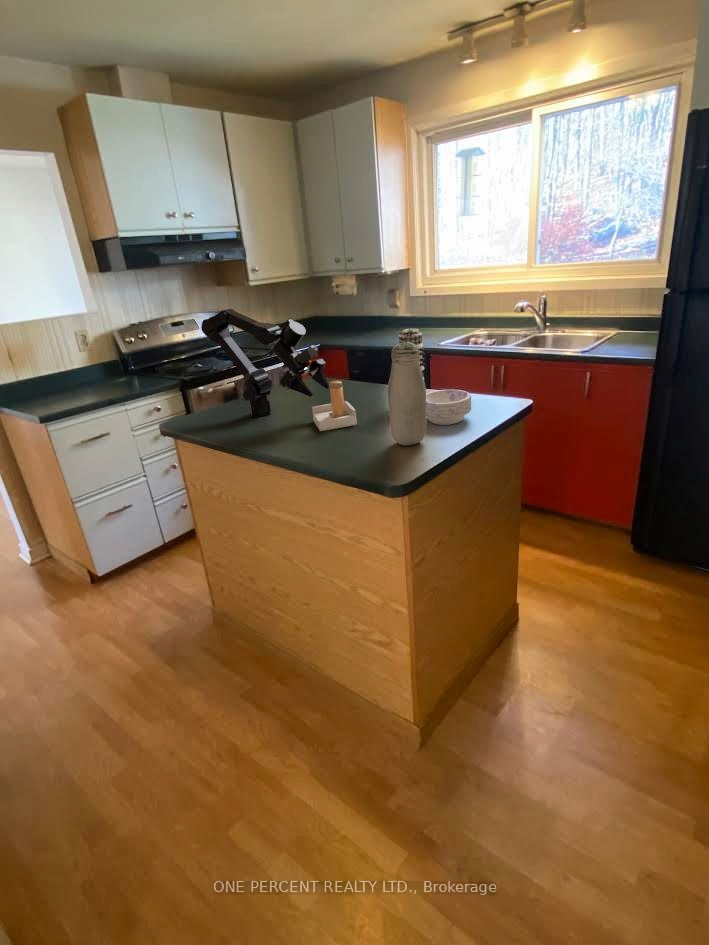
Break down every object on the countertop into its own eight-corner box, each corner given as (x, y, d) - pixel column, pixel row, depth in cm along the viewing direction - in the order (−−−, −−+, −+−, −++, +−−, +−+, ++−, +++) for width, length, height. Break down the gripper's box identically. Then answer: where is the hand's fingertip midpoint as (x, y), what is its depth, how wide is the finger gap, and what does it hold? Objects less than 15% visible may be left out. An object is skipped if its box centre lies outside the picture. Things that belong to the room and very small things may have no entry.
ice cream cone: (339, 425, 165) (334, 384, 159) (331, 423, 168) (326, 383, 162) (348, 422, 167) (344, 381, 162) (340, 420, 170) (336, 380, 164)
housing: (320, 431, 162) (318, 415, 160) (313, 421, 172) (311, 406, 170) (357, 424, 164) (355, 409, 162) (348, 415, 174) (347, 400, 172)
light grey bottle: (402, 453, 139) (396, 348, 128) (385, 442, 148) (378, 343, 136) (434, 444, 142) (430, 342, 131) (415, 434, 151) (410, 337, 140)
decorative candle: (410, 408, 174) (406, 333, 164) (395, 402, 182) (390, 330, 172) (432, 402, 178) (429, 328, 168) (416, 397, 186) (413, 326, 176)
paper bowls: (411, 423, 160) (410, 398, 157) (440, 410, 170) (440, 386, 167) (452, 432, 150) (452, 405, 147) (480, 417, 160) (481, 392, 156)
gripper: (281, 345, 155) (315, 383, 154) (317, 333, 169) (348, 368, 168) (266, 369, 163) (298, 406, 162) (301, 356, 177) (331, 390, 176)
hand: (320, 391), depth 167 cm, fingers open, 9 cm apart
